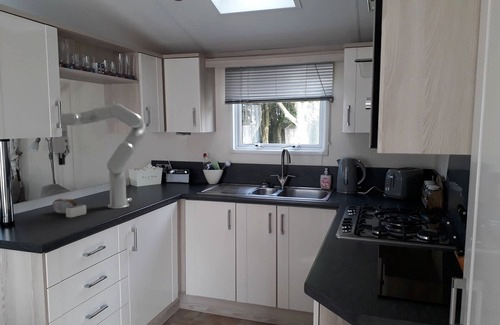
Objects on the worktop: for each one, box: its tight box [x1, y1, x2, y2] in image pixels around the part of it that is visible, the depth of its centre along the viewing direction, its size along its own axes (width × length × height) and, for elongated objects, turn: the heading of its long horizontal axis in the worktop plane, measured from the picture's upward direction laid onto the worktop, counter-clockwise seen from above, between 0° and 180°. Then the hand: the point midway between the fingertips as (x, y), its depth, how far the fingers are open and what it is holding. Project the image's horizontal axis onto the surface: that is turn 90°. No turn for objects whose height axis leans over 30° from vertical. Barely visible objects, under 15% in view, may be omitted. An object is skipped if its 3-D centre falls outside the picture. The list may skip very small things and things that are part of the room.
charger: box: [65, 204, 87, 218], centre depth 206 cm, size 10×4×5 cm, turn 154°
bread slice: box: [52, 198, 78, 215], centre depth 210 cm, size 15×3×8 cm, turn 77°
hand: (61, 164), depth 218 cm, fingers closed
